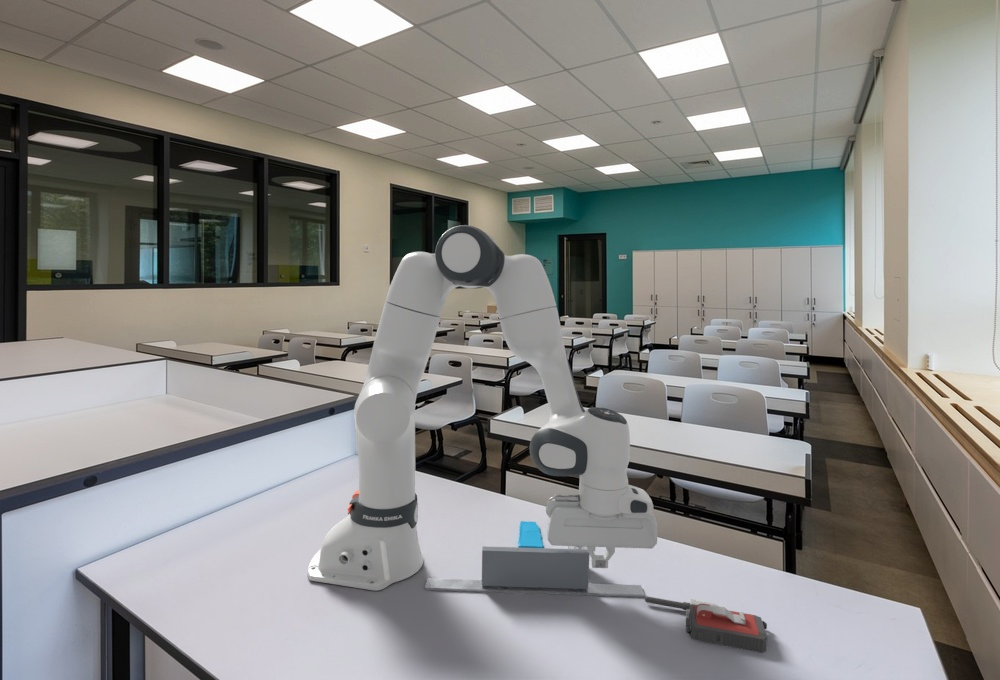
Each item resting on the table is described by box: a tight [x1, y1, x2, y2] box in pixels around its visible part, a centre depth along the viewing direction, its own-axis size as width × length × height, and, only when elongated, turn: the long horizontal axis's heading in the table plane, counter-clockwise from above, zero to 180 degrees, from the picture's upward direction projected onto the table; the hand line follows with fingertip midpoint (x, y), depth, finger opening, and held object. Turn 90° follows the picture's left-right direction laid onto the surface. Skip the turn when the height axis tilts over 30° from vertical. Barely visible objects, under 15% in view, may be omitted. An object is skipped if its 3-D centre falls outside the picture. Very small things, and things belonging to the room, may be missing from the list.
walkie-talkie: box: [644, 595, 768, 653], centre depth 89 cm, size 9×4×20 cm
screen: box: [481, 545, 590, 589], centre depth 99 cm, size 20×2×7 cm, turn 89°
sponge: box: [517, 520, 545, 548], centre depth 120 cm, size 2×12×6 cm
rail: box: [424, 578, 646, 598], centre depth 99 cm, size 41×3×1 cm, turn 89°
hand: (599, 566), depth 98 cm, fingers closed
